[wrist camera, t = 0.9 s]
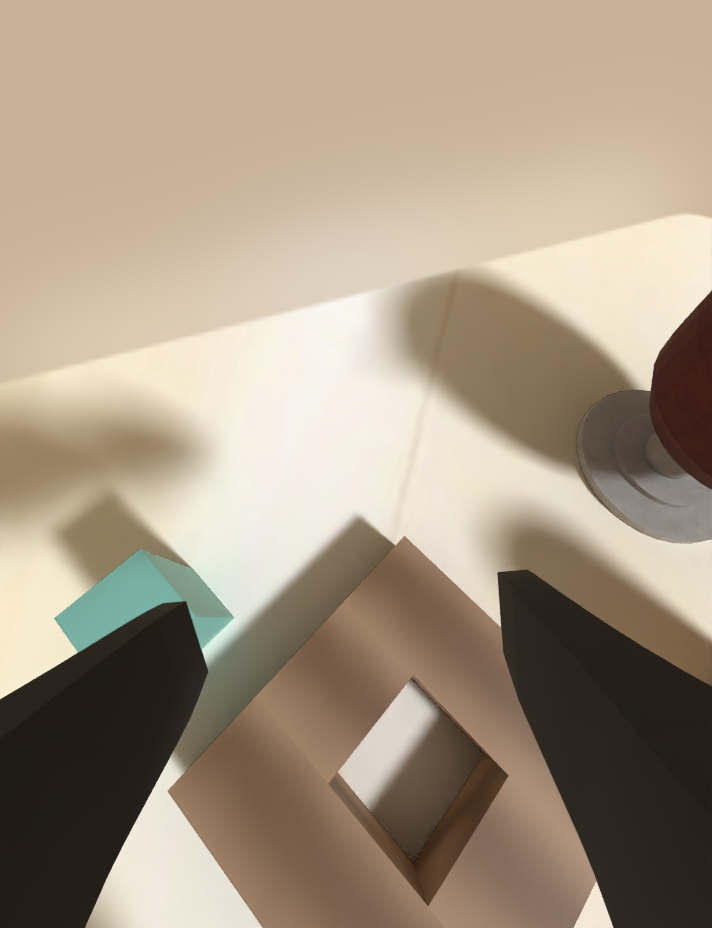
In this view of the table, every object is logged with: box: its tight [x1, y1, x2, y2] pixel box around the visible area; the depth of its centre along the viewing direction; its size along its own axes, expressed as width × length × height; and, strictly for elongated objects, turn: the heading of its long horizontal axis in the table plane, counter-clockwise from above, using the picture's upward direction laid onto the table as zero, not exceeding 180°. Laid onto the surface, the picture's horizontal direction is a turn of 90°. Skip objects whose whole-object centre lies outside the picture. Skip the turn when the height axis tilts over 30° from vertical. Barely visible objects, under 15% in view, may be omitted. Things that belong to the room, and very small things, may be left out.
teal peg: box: [54, 549, 234, 652], centre depth 19 cm, size 4×4×7 cm
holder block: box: [168, 536, 596, 928], centre depth 19 cm, size 16×16×3 cm
